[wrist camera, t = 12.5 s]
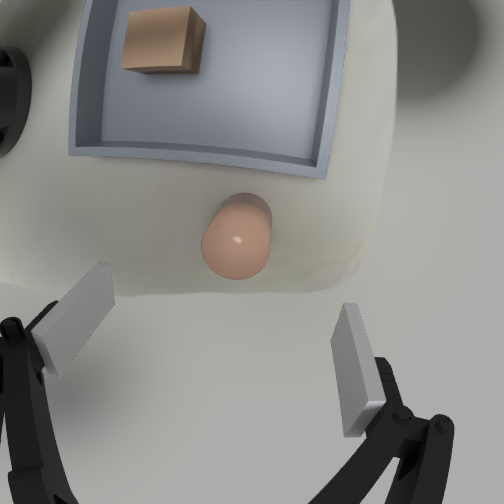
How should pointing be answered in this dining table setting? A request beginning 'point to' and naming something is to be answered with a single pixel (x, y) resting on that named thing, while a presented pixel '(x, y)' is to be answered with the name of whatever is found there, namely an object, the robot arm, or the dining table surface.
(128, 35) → the walnut cube
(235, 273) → the terracotta cylinder
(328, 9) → the tray
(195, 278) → the dining table surface
